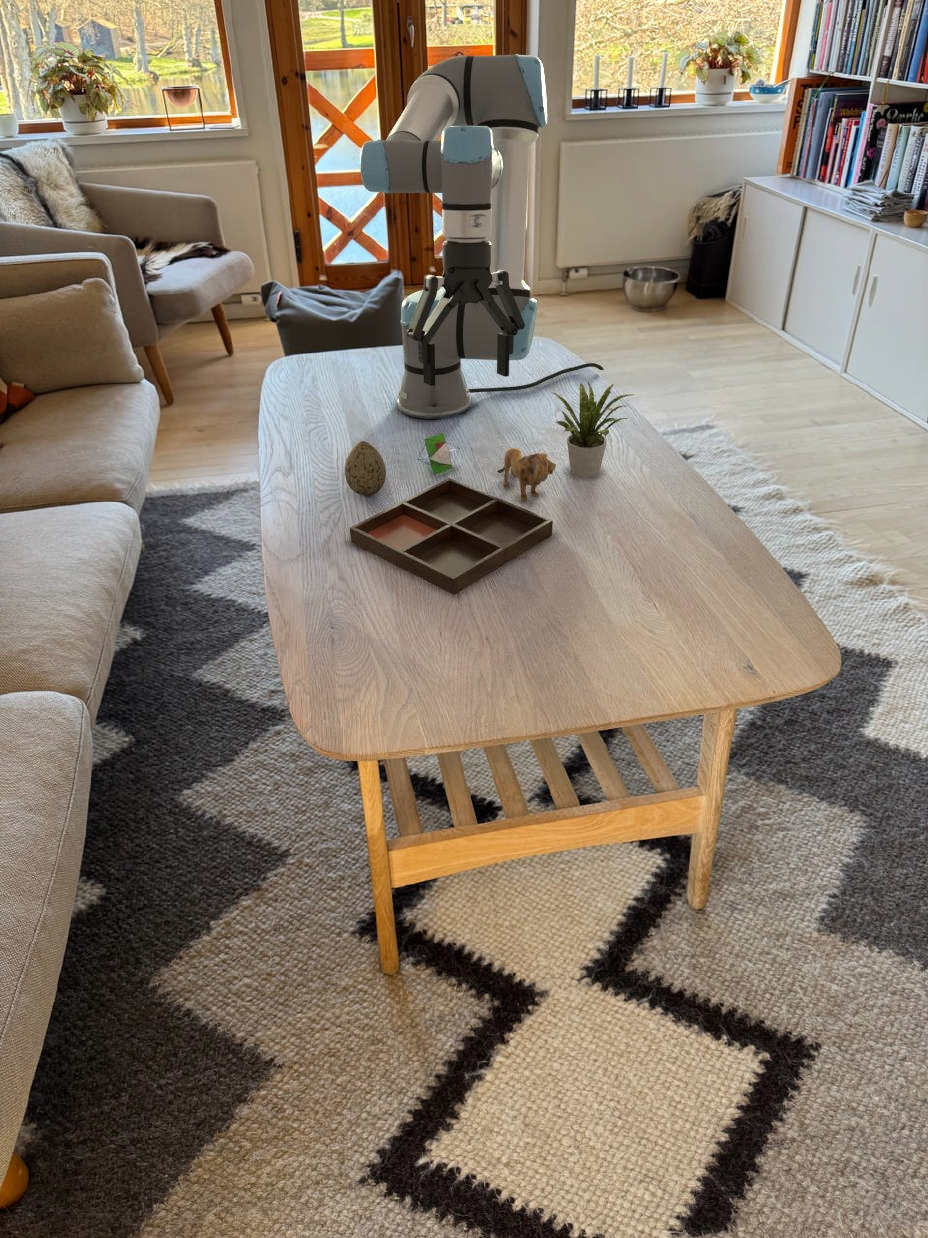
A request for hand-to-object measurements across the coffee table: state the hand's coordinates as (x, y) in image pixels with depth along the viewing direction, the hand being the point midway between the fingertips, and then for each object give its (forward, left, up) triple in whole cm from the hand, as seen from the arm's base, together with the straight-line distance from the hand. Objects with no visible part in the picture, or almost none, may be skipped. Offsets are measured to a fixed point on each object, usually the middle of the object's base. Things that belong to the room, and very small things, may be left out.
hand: (466, 379), depth 154 cm
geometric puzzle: (-3, -10, -21) cm, 23 cm away
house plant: (-20, +12, -21) cm, 31 cm away
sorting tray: (+14, +9, -21) cm, 26 cm away
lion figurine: (-7, +7, -21) cm, 23 cm away
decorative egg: (+12, -13, -21) cm, 28 cm away
